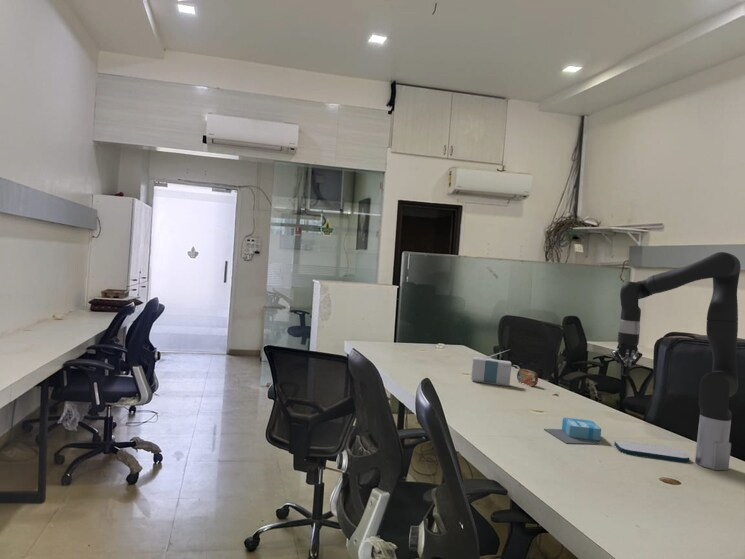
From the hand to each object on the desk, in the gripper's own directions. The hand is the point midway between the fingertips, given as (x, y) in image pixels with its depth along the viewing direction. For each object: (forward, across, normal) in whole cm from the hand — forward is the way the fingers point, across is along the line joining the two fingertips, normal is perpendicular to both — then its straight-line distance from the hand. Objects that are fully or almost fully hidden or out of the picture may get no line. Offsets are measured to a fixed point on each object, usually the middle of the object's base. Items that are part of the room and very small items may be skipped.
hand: (624, 375), depth 206 cm
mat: (+25, -21, 0) cm, 33 cm away
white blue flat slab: (+26, +1, -16) cm, 30 cm away
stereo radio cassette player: (+25, -14, +90) cm, 95 cm away
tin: (+25, +9, +91) cm, 95 cm away
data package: (+22, -9, +1) cm, 24 cm away
